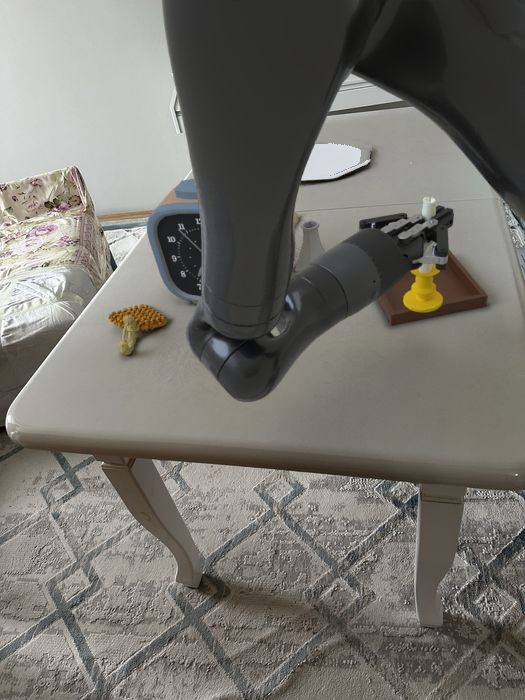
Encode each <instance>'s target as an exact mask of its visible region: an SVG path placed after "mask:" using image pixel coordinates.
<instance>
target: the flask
mask: <svg viewBox="0 0 525 700" xmlns="http://www.w3.org/2000/svg"><path fill="white" fill-rule="evenodd" d="M319 227H320V223H319V221H318V220H315V219H314V220H313V219H309V220H306V221H303V222H302V223H301V224H300V228H301V229H302V243H301V248H300V251H299V254H298V259H297V261H296V265H295V268H294V270H295V273H296V272H297V271H299V270H301V269H302V268H304V267H306V266H307V265H309V264H310V263H311V262H312V261H314V260H315V259H316V258H317V257H318V256H320V255H321V254H323V253H324V252H326V250H325V248H324V245H323V244H322V241H321V238H320V233H319Z"/></svg>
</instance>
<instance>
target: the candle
mask: <svg viewBox="0 0 525 700" xmlns="http://www.w3.org/2000/svg"><path fill="white" fill-rule="evenodd" d="M436 207H437V200H436V198H434V197H432V196H424V197H423V201H422V210H421V214H422V215H423V219H424V220H425V222H426V219H427V221H428V220H430V218H432V217H433V216H435V215H436ZM434 243H435V242H433V243H432V244H430V245H429V246H428V247H427V249H426V251H425V252H428V251H429V249H430V248H433V244H434ZM425 252H424V253H425ZM439 272H440V270H437V269H436V264H422V266H421V267H420V268H418V269H416V270H412V271H411V273H413V274H414V275H416V282H415V283H413V285H412V287H411V289H412V290H410V291H408V292H407V293H406V294H405V295H404V298H403V302H404V305H405V306H406V307H407V308H409V309H410V310H412V311H416V312H431V311H434V310H436V309H438V308H439V307H441V305H442V303H443V297H442V295H441V294H440V293H439V292H437V291H436V285H435V284H434V283H433V276H434V275H436V274H438V273H439Z"/></svg>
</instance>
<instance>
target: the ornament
mask: <svg viewBox="0 0 525 700" xmlns="http://www.w3.org/2000/svg"><path fill="white" fill-rule="evenodd" d="M108 321H110V323H112V324H113V325H114V326H116V327H119V328H120V329H122V333H121V337H122V338H121V340H120V341H119V342H118V346H119V351H120V352H121V353H122V354H123V355H124V356H129V355H131V354H132V352H133V351H134V348H135V345H136V342H137V335H138V332H143V331H144V332H148V331H149V330H150V331H152V330H154V329H155V328H156V329H158V328H160V327H164V326H166V324H167V323H168V320H167V318H166V316H165V315H163V314H162V313H161V312H159V310H155V309H154V308H152V307H151V306H149V305H148V304H143V303H141V304H139V306H138V305H137V304H136V305H134V307H133V306H129V307H125V308H123V309H118V310H117V311H112V312H111V313H109V314H108ZM126 334H127V339H126Z"/></svg>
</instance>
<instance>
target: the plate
mask: <svg viewBox="0 0 525 700" xmlns="http://www.w3.org/2000/svg"><path fill="white" fill-rule="evenodd" d="M360 157H361V150H360V149H358V148H355V147H352V146H349V145H348V146H347V145H345V144H344V145H341V144H338V145H337V144H334V143H333V144H332V143H328V144H315V145H314V148H313V150H312V152H311V155H310V157H309V160H308V162H307V165H306V167H305V170H304V173H303V176H302V179H301V182H315V181H317V182H318V181H332V180H337V179H339V178H341V177H344V176H345V174H346V175H348V174H350V173H352V172H351V171H353V172H355V171H357V170H359V169H358V168H360V167H362V166H364V165H366V164H368V162H370V163H371V159H369V160H366V161H365V162H364V163H362V164H359V165H357V164H358V163H359V162H360ZM355 165H357V166H355ZM368 165H369V164H368ZM352 166H355V167H352ZM366 166H367V165H366ZM350 167H352V168H350ZM364 167H365V166H364ZM348 168H349V169H348ZM362 168H363V167H362ZM345 169H347V170H345ZM356 169H357V170H356ZM360 169H361V168H360ZM343 170H345V171H343ZM354 170H355V171H354ZM341 171H343V172H341ZM338 172H340V173H338ZM336 173H338V174H336ZM334 174H335V175H334ZM330 175H331V176H330ZM343 175H344V176H343Z"/></svg>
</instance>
